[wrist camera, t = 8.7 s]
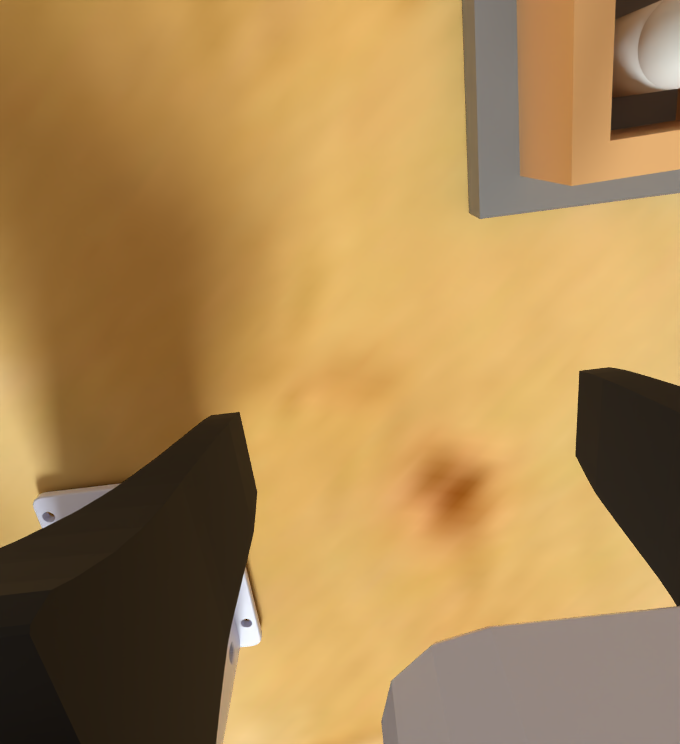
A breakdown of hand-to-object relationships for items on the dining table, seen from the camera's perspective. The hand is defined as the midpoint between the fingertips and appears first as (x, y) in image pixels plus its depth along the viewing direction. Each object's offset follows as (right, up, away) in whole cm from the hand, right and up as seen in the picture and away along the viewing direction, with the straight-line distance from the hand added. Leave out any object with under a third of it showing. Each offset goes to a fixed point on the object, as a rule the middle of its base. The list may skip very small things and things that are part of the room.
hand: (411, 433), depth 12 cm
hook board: (+8, +13, +5) cm, 16 cm away
